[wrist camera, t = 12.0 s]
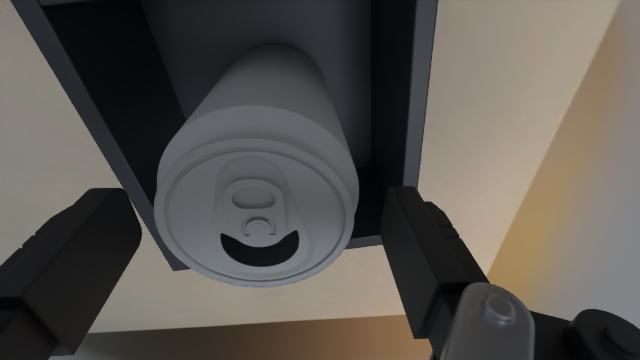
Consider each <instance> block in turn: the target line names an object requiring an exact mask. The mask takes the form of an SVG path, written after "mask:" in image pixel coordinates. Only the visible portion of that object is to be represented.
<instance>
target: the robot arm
mask: <svg viewBox="0 0 640 360" xmlns="http://www.w3.org/2000/svg"><path fill="white" fill-rule="evenodd" d="M35 233H36V234H35V236H31V237H30V238H29V239H28V240H27V241H26V242H25V243H24V244H23V245H22V246H23V247H22V248H19V249H18V250H17V251H15V252H14V253H13V254H12V255H11V256H10V257H9V258H8V259H7V260H6V261H5V262H4V263H3V264H2V265H1V266H0V360H48V359H49V358H50V356H65V355H74V354H75V352H76V351H77V349H78V347H79V346H80V344H81V342H82V341H83V339H84V337H85V336H86V334H87V332H88V331H89V329H90V327H91V326H92V324H93V322H94V321H95V319H96V317H97V316H98V314H99V312H100V311H101V309H102V307H103V306H104V304H105V302H106V301H107V299H108V297H109V296H110V294H111V292H112V290H113V289H114V287H115V285H116V284H117V282H118V280H119V279H120V277H121V275H122V274H123V272H124V270H125V269H126V267H127V265H128V264H129V262H130V260H131V259H132V257H133V255H134V254H135V252H136V250H137V249H138V247H139V245H140V242H141V238H142V229H141V225H140V223H139V221H138V218H137V216H136V213H135V211H134V209H133V206H132V204H131V202H130V199H129V197H128V195H127V193H126V191H125V190H124V189H122V188H92V189H89V190H88V191H87V192H86V193H85V194H84V195H83V196H82V197H81V198H80V199H79V200H77V201H76V202H75V203H74V204H73V205H72V206H70V207H68V208H66V209H65V210H63V211H61V212H60V213H58V214H56V215H55V216H53V217H51V218H50V219H49V220H48V221H47V222H46V223H45V224H44V225H43V226H42V227H41V228H40V229H39V230H37V231H36V232H35ZM380 234H381V240H382V243H383V246H384V249H385V252H386V255H387V258H388V261H389V264H390V267H391V270H392V273H393V276H394V279H395V282H396V286H397V289H398V292H399V295H400V298H401V301H402V304H403V307H404V310H405V313H406V316H407V319H408V321H409V325H410V328H411V331H412V334H413V337H414V339H426V338H429V341H430V344H431V346H432V349H433V351H432V353H431V355H430V359H429V360H640V329H639V328H637V327H636V326H634V325H633V324H631V323H630V322H628V321H627V320H625V319H623V318H621V317H619V316H617V315H614V314H612V313H609V312H606V311H602V310H598V309H587V310H584V311H582V312H580V313H579V314H578V315H577V316H576V317H575V318H574V319H573V320H572V321H568V320H565V319H561V318H557V317H553V316H549V315H545V314H541V313H537V312H533V311H530V310H528V309H527V307H526V306H525V305H524V304H523V303H522V302H521V301H520V300H519V299H518V298H517V297H516V296H514V295H513V294H512V293H510V292H509V291H507V290H505V289H503V288H501V287H499V286H496V285H493V284H490V282H489V281H488V279H487V278H486V276H485V275H484V273H483V272H482V270H481V268H480V267H479V265H478V264H477V262H476V261H475V259H474V258H473V256H472V254H471V253H470V251H469V250H468V248H467V247H466V245H465V244H464V242H463V241H462V239H460V238H459V234H458V233H457V231H456V230H455V228H453V227H452V224H451V222H450V220H449V219H448V217H447V216H446V214H445V213H444V212H443V211H442V210H441V209H440V208H438V207H437V206H436V205H435V204H433V203H432V202H424V201H423V199H422V198H421V196H420V194H419V192H418V191H417V189H416V188H415V187H414V186H390V187H389V188H388V190H387V194H386V199H385V204H384V208H383V213H382V218H381V223H380Z"/></svg>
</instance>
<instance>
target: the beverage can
mask: <svg viewBox="0 0 640 360" xmlns="http://www.w3.org/2000/svg"><path fill="white" fill-rule="evenodd" d="M358 200H359V182H358V176H357V172H356V169H355V166H354V163H353V160H352V157H351V154H350V151H349V148H348V145H347V142H346V139H345V136H344V133H343V130H342V127H341V124H340V121H339V118H338V115H337V112H336V109H335V106H334V103H333V100H332V97H331V94H330V91H329V88H328V85H327V82H326V79H325V77H324V75H323V73H322V72H321V70H320V69H319V67H318V66H317V65H316V64H315V62H314V61H313V60H312V59H310V58H309V57H308V56H307V55H305V54H304V53H302V52H300V51H299V50H297V49H295V48H292V47H289V46H285V45H279V44H268V45H261V46H258V47H255V48H252V49H250V50H248V51H246V52H245V53H243V54H242V55H241V56H240V57H238V58H237V59H236V60H235V61H234V63H233V64H232V65H231V66H230V68H229V69H228V70H227V71H226V73H225V74H224V75H223V76H222V78H221V79H220V80H219V81H218V83H217V84H216V85H215V86H214V88H213V89H212V90H211V91H210V93H209V94H208V95H207V96H206V97H205V99H204V100H203V101H202V102H201V104H200V105H199V106H198V107H197V109H196V110H195V111H194V112H193V114H192V115H191V116H190V117H189V119H188V120H187V121H186V122H185V124H184V125H183V126H182V127H181V129H180V130H179V131H178V132H177V134H176V135H175V136H174V137H173V139H172V140H171V141H170V143H169V144H168V146H167V147H166V149H165V151H164V153H163V155H162V157H161V160H160V163H159V167H158V173H157V192H156V195H155V200H154V218H155V223H156V226H157V230H158V232H159V234H160V236H161V238H162V240H163V241H164V243H165V244H166V246H167V247H168V248H169V250H170V251H171V252H172V253H173V254H174V255H175V256H176V257H177V258H178V259H179V260H180V261H181V262H183V263H184V264H185V265H187V266H188V267H190V268H191V269H193V270H194V271H196V272H198V273H200V274H202V275H204V276H206V277H208V278H211V279H214V280H217V281H220V282H224V283H228V284H231V285H236V286H243V287H256V288H263V287H276V286H283V285H288V284H292V283H296V282H299V281H301V280H304V279H307V278H309V277H311V276H313V275H315V274H317V273H319V272H320V271H322V270H324V269H325V268H326V267H328V266H329V265H330V264H331V263H333V262H334V261H335V260H336V259H337V258H338V257H339V255H340V254H341V253H342V252H343V250H344V249H345V247H346V246H347V244H348V242H349V240H350V237H351V235H352V231H353V227H354V214H355V212H356V208H357V204H358Z"/></svg>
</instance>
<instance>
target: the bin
mask: <svg viewBox="0 0 640 360" xmlns="http://www.w3.org/2000/svg"><path fill="white" fill-rule="evenodd" d="M10 1H11V2H12V4H13V6H14V7H15V9H16V11H17V12H18V14H19V16H20V17H21V19H22V21H23V22H24V24H25V26H26V27H27V29H28V30H29V32H30V34H31V35H32V37H33V39H34V40H35V42H36V44H37V45H38V47H39V49H40V50H41V52H42V54H43V55H44V57H45V59H46V60H47V62H48V64H49V65H50V67H51V69H52V70H53V72H54V74H55V75H56V77H57V79H58V80H59V82H60V84H61V85H62V87H63V89H64V90H65V92H66V94H67V95H68V97H69V99H70V100H71V102H72V104H73V105H74V107H75V109H76V110H77V112H78V114H79V115H80V117H81V119H82V120H83V122H84V124H85V125H86V127H87V129H88V130H89V132H90V134H91V135H92V137H93V138H94V140H95V142H96V143H97V145H98V147H99V148H100V150H101V152H102V153H103V155H104V157H105V158H106V160H107V162H108V163H109V165H110V167H111V168H112V170H113V172H114V173H115V175H116V177H117V178H118V180H119V182H120V183H121V185H122V187H123V188H124V190H125V191H126V193H127V195H128V197H129V198H130V200H131V202H132V203H133V205H134V207H135V208H136V210H137V212H138V213H139V215H140V217H141V218H142V220H143V222H144V223H145V225H146V227H147V228H148V230H149V232H150V233H151V235H152V237H153V238H154V240H155V241H156V243H157V245H158V246H159V248H160V250H161V251H162V253H163V255H164V256H165V258H166V260H167V261H168V263H169V265H170V266H171V268H172V270H173V271H178V270H186V269H191V268H190V267H188V266H187V265H185V264H184V263H183V262H181V261H180V260H179V259H178V258H177V257H176V256H175V255H174V254H173V253H172V252H171V251H170V250H169V248H168V247H167V246H166V244H165V243H164V241H163V240H162V238H161V236H160V234H159V232H158V230H157V226H156V223H155V218H154V200H155V195H156V192H157V173H158V167H159V163H160V160H161V157H162V155H163V153H164V151H165V149H166V147H167V146H168V144H169V143H170V141H171V140H172V139H173V137H174V136H175V135H176V134H177V132H178V131H179V130H180V129H181V127H182V126H183V125H184V124H185V122H186V121H187V120H188V119H189V117H190V116H191V115H192V114H193V112H194V111H195V110H196V109H197V107H198V106H199V105H200V104H201V102H202V101H203V100H204V99H205V97H206V96H207V95H208V94H209V93H210V91H211V90H212V89H213V88H214V86H215V85H216V84H217V83H218V81H219V80H220V79H221V78H222V76H223V75H224V74H225V73H226V71H227V70H228V69H229V68H230V66H231V65H232V64H233V63H234V61H235V60H236V59H237V58H238V57H240V56H241V55H242V54H243V53H245V52H246V51H248V50H250V49H252V48H255V47H258V46H261V45H268V44H279V45H285V46H289V47H292V48H295V49H297V50H299V51H300V52H302V53H304V54H305V55H307V56H308V57H309V58H310V59H312V60H313V61H314V62H315V64H316V65H317V66H318V67H319V69H320V70H321V72H322V73H323V75H324V77H325V79H326V82H327V85H328V88H329V91H330V94H331V97H332V100H333V103H334V106H335V109H336V112H337V115H338V118H339V121H340V124H341V127H342V130H343V133H344V136H345V139H346V142H347V145H348V148H349V151H350V154H351V157H352V160H353V163H354V166H355V169H356V172H357V176H358V182H359V200H358V204H357V208H356V212H355V214H354V227H353V231H352V235H351V237H350V240H349V242H348V244H347V246H346V247H345V249H352V248H360V247H368V246H375V245H383V243H382V240H381V234H380V223H381V218H382V213H383V208H384V204H385V199H386V194H387V190H388V188H389V187H390V186H414V187H415V188H416V189H417V188H418V179H419V170H420V161H421V152H422V142H423V133H424V124H425V115H426V106H427V97H428V88H429V79H430V69H431V60H432V51H433V42H434V33H435V24H436V15H437V6H438V0H10Z"/></svg>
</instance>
